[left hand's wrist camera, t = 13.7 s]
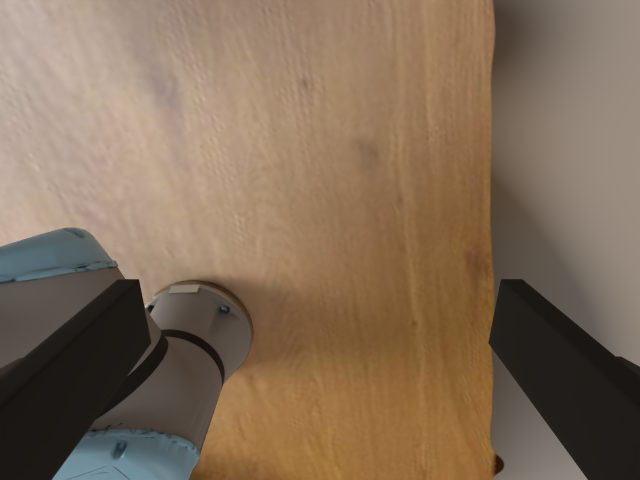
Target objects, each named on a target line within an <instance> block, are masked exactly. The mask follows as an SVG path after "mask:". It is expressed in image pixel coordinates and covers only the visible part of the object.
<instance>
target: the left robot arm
mask: <svg viewBox="0 0 640 480" xmlns="http://www.w3.org/2000/svg"><path fill="white" fill-rule="evenodd" d="M117 266H118V264H117V262H116V261H113V260H112V259H111V258H110V257H109V255H108V254H107V253H106V252H105V250H104V249H103V248H102V247H101V245H100V244H99V243H98V241H97V240H96V239H95V238H94V236H93V235H92V234H90V233H89V232H87V231H85V230H83V229H79V228H63V229H59V230H55V231H51V232H47V233H44V234H40V235H37V236H34V237H30V238H27V239H24V240H20V241H17V242H14V243H11V244H8V245H4V246H1V247H0V480H189V477H190V475H191V473H192V470H193V468H194V467H195V466H196V464H197V462H198V460H199V457H200V452H201V449H202V446H203V443H204V440H205V437H206V434H207V431H208V428H209V425H210V422H211V419H212V416H213V413H214V410H215V407H216V404H217V401H218V398H219V395H220V392H221V389H222V386H223V384H224V383H225V382H226V381H227V380H228V379H229V377H230V376H231V375H232V374H233V373H234V372H235V370H237V369H238V368H239V367H240V366H241V364H242V363H243V362H244V360H245V359H246V357H247V355H248V352H249V350H250V346H251V343H252V338H253V326H252V321H251V318H250V316H249V314H248V312H247V310H246V308H245V307H244V305H243V304H242V303H241V302H240V301H239V300H238V299H237V298H236V297H235V296H234V295H233V294H231V293H230V292H228V291H227V290H225V289H223V288H221V287H219V286H217V285H214V284H211V283H207V282H202V281H182V282H178V283H174V284H171V285H169V286H167V287H165V288H163V289H162V290H160V291H159V292H158V293H157V294H156V295H155V296H154V297H153V298H152V299H151V300H150V301H149V302H148V303H147V305H146V306H145V307H144V303H143V298H142V293H141V288H140V283H139V279H125V278H124V276H123V275H122V273H121V272H120V270H119V269H118V267H117ZM489 344H490V346H491V347H492V349H493V350H494V351H495V353H496V354H497V355H498V357H499V358H500V359H501V361H502V362H503V364H504V365H505V366H506V368H507V369H508V370H509V372H510V373H511V375H512V376H513V377H514V379H515V380H516V382H517V383H518V384H519V386H520V387H521V388H522V390H523V391H524V393H525V394H526V395H527V397H528V398H529V399H530V401H531V402H532V403H533V405H534V406H535V408H536V409H537V410H538V412H539V413H540V414H541V416H542V417H543V419H544V420H545V421H546V423H547V424H548V425H549V427H550V428H551V430H552V431H553V432H554V434H555V435H556V436H557V438H558V439H559V441H560V442H561V443H562V445H563V446H564V447H565V449H566V450H567V452H568V453H569V454H570V456H571V457H572V458H573V460H574V461H575V463H576V464H577V465H578V467H579V468H580V469H581V471H582V472H583V473H584V475H585V476H586V478H587V479H588V480H640V367H639V366H637V365H635V364H633V363H632V362H630V361H628V360H626V359H624V358H623V357H615V356H614V355H613V354H612V353H611V352H609V351H608V350H607V349H606V348H605V347H603V346H602V345H601V344H600V343H598V342H597V341H596V340H595V339H594V338H592V337H591V336H590V335H589V334H588V333H586V332H585V331H584V330H583V329H582V328H580V327H579V326H578V325H577V324H576V323H574V322H573V321H572V320H571V319H570V318H568V317H567V316H566V315H565V314H563V313H562V312H561V311H560V310H559V309H557V308H556V307H555V306H554V305H553V304H551V303H550V302H549V301H548V300H547V299H545V298H544V297H543V296H542V295H541V294H539V293H538V292H537V291H536V290H535V289H533V288H532V287H531V286H530V285H528V284H527V283H526V282H525V281H524V280H522V279H501V283H500V288H499V293H498V298H497V303H496V308H495V313H494V318H493V323H492V328H491V333H490V338H489Z"/></svg>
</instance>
